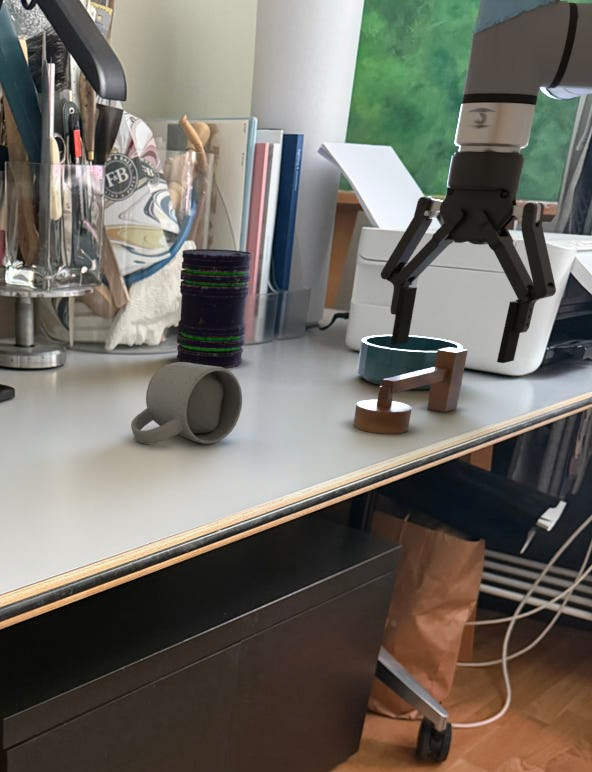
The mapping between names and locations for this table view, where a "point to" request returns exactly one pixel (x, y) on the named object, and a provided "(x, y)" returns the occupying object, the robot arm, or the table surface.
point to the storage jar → (213, 307)
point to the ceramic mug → (190, 404)
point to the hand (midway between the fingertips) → (450, 352)
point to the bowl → (398, 356)
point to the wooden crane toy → (396, 415)
